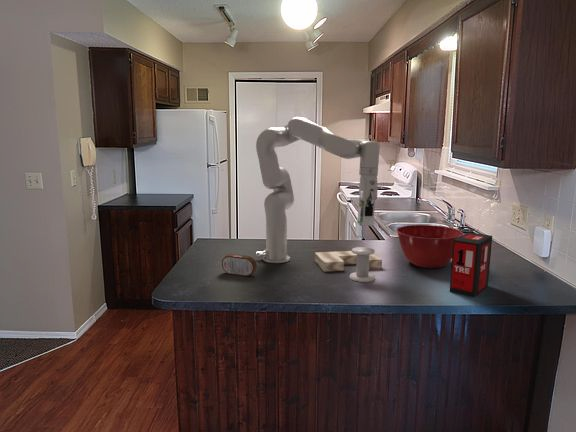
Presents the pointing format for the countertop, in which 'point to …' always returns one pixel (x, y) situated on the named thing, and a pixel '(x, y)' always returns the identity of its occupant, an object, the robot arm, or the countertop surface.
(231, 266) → the tin
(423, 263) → the mixing bowl
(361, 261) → the doorknob
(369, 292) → the countertop surface
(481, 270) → the cleaning product box
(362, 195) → the syrup box
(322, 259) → the notched board
